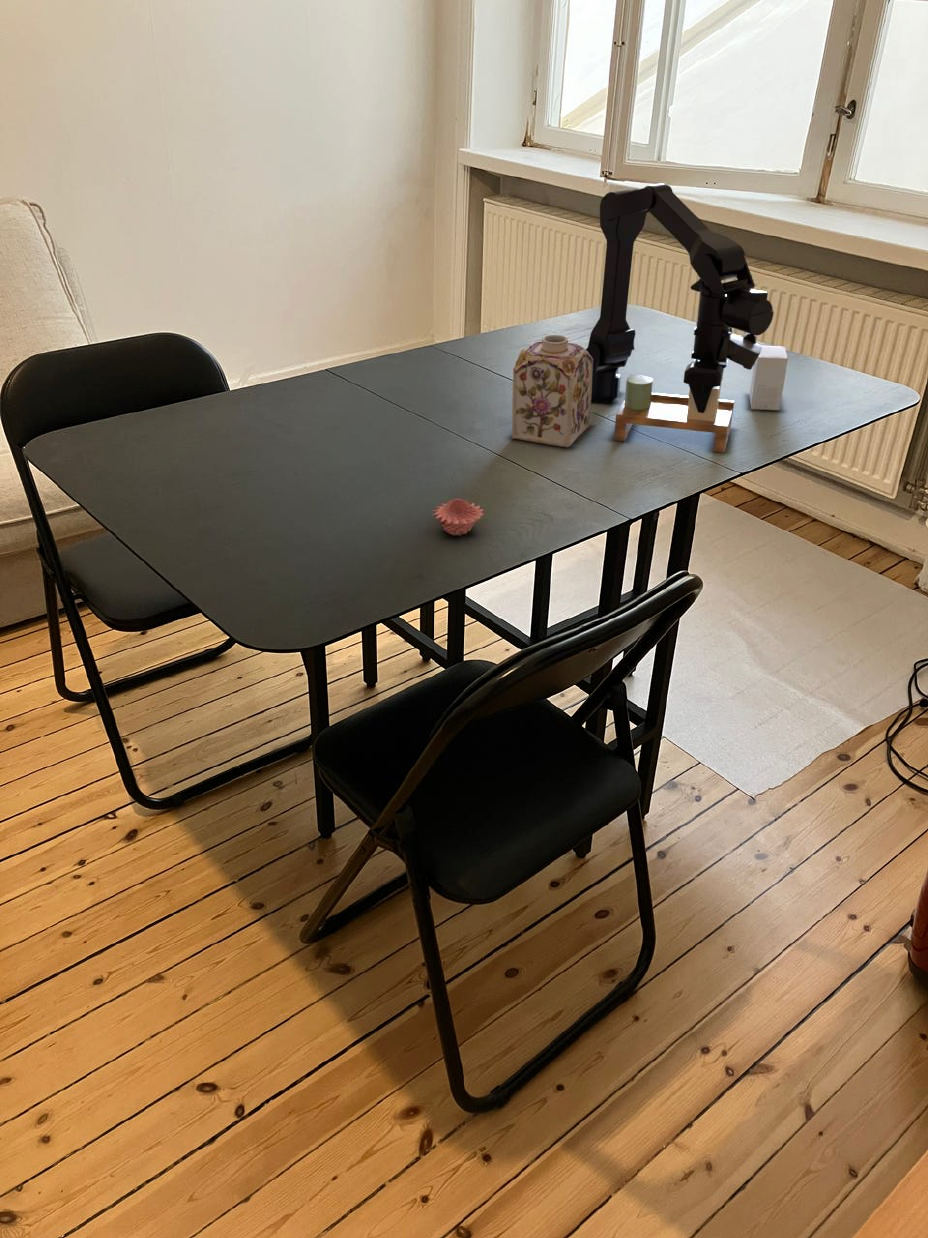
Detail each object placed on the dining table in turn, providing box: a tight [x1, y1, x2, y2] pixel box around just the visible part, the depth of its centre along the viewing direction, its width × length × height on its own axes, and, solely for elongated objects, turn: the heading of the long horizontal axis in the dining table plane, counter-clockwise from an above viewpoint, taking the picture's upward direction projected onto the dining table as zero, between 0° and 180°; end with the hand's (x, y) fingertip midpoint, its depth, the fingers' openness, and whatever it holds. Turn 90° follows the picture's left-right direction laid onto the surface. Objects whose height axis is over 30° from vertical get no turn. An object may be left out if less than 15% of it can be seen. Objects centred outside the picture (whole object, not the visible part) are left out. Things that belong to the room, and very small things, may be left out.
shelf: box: [613, 392, 735, 453], centre depth 185 cm, size 20×11×6 cm, turn 72°
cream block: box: [686, 384, 722, 422], centre depth 180 cm, size 5×5×6 cm
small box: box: [749, 344, 789, 411], centre depth 197 cm, size 8×6×10 cm
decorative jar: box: [511, 334, 594, 448], centre depth 184 cm, size 12×12×18 cm
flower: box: [432, 498, 485, 536], centre depth 154 cm, size 8×8×6 cm
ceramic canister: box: [624, 374, 654, 410], centre depth 185 cm, size 5×5×5 cm
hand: (702, 407), depth 181 cm, fingers closed on cream block, 5 cm apart
